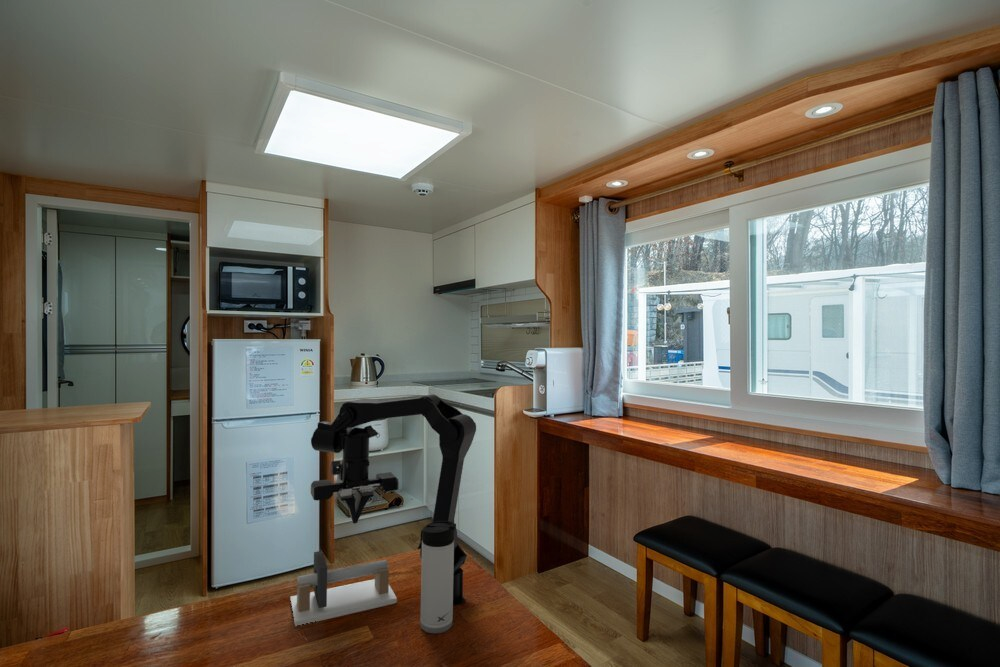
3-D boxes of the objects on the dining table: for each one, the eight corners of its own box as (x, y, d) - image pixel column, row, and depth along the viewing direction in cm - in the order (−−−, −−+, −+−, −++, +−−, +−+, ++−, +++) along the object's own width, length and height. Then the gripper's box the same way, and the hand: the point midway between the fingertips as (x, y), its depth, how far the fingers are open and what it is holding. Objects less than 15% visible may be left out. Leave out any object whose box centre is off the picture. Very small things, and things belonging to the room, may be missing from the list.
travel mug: (448, 636, 97) (450, 531, 97) (415, 631, 98) (417, 528, 98) (457, 618, 103) (459, 519, 103) (426, 613, 105) (428, 516, 104)
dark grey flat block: (320, 587, 110) (321, 550, 110) (326, 606, 103) (327, 566, 103) (313, 589, 109) (313, 552, 109) (318, 608, 102) (319, 568, 102)
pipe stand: (384, 581, 117) (385, 549, 117) (396, 602, 108) (397, 568, 108) (290, 601, 108) (290, 566, 108) (295, 626, 99) (295, 589, 99)
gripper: (386, 443, 129) (385, 505, 129) (307, 450, 120) (306, 517, 120) (399, 454, 119) (398, 521, 119) (314, 462, 110) (313, 534, 110)
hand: (354, 522), depth 118 cm, fingers closed
